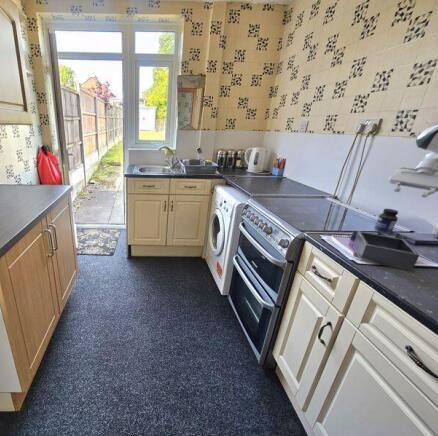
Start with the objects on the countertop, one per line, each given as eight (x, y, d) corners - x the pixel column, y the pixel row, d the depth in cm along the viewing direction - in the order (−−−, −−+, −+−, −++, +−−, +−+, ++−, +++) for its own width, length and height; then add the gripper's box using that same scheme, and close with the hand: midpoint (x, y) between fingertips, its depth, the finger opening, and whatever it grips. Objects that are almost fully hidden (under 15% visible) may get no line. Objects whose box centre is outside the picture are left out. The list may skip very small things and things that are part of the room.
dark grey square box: (396, 255, 93) (404, 239, 90) (410, 273, 82) (419, 255, 79) (352, 246, 99) (358, 231, 96) (359, 262, 88) (366, 244, 85)
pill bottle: (369, 230, 115) (378, 208, 111) (379, 229, 116) (388, 207, 112) (384, 236, 109) (393, 212, 105) (394, 235, 111) (404, 212, 107)
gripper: (398, 162, 119) (380, 184, 118) (462, 170, 102) (441, 195, 101) (399, 171, 122) (381, 192, 122) (460, 179, 105) (440, 204, 105)
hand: (409, 193), depth 111 cm, fingers open, 8 cm apart
